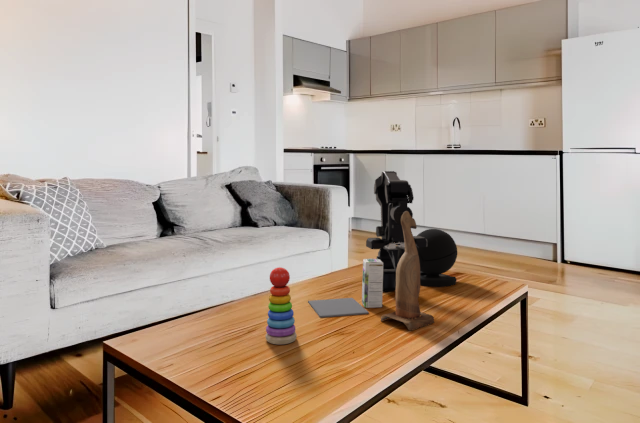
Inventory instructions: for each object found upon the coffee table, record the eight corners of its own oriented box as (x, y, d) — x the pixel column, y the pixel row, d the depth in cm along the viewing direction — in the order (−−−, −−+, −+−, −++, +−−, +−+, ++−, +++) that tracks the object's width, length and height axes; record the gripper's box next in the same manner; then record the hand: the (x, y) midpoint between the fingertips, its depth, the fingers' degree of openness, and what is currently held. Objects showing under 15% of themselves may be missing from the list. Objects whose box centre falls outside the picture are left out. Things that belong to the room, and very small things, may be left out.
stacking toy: (301, 336, 128) (301, 265, 126) (289, 347, 121) (289, 272, 119) (273, 333, 131) (272, 263, 129) (260, 343, 123) (259, 270, 121)
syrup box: (361, 302, 158) (361, 258, 157) (379, 302, 159) (380, 258, 157) (364, 308, 153) (365, 262, 151) (383, 307, 153) (383, 262, 152)
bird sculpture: (435, 324, 139) (440, 211, 137) (410, 332, 131) (414, 213, 129) (404, 315, 148) (408, 208, 145) (378, 322, 140) (381, 210, 137)
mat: (352, 299, 163) (352, 297, 163) (368, 313, 147) (368, 312, 147) (308, 302, 159) (308, 300, 159) (320, 317, 144) (320, 315, 144)
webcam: (465, 284, 182) (467, 230, 180) (426, 288, 176) (428, 233, 174) (437, 274, 198) (438, 225, 196) (400, 278, 192) (401, 227, 190)
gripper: (413, 216, 165) (412, 262, 167) (360, 218, 161) (360, 265, 162) (428, 220, 154) (427, 269, 156) (372, 222, 150) (371, 273, 151)
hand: (396, 269), depth 157 cm, fingers closed
